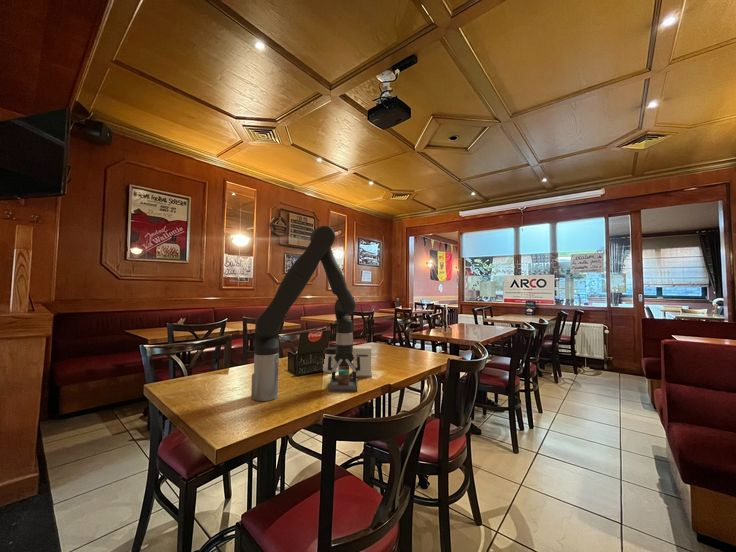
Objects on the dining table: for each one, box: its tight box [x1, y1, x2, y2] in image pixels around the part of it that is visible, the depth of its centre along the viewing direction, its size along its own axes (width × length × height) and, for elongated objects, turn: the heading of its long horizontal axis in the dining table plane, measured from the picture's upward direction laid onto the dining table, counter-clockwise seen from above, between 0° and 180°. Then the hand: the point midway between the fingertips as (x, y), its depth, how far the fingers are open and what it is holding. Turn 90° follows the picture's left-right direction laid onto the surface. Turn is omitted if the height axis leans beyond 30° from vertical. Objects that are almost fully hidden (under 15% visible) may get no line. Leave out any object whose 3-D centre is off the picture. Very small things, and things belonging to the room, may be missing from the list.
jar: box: [322, 346, 339, 374], centre depth 159 cm, size 9×8×12 cm
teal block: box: [337, 369, 350, 385], centre depth 132 cm, size 4×4×6 cm
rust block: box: [339, 366, 350, 371], centre depth 150 cm, size 4×4×6 cm
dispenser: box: [351, 345, 373, 379], centre depth 151 cm, size 10×8×14 cm
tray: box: [328, 377, 359, 393], centre depth 132 cm, size 12×12×2 cm
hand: (343, 380), depth 132 cm, fingers open, 8 cm apart
